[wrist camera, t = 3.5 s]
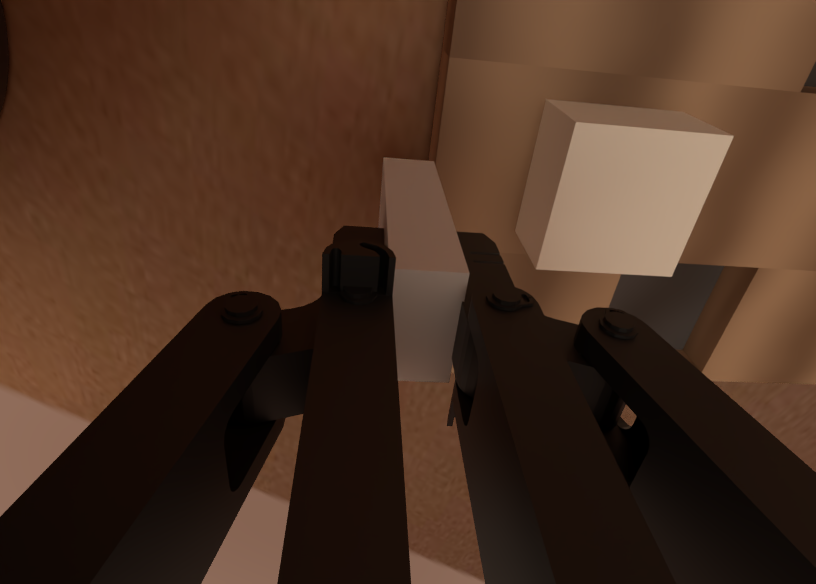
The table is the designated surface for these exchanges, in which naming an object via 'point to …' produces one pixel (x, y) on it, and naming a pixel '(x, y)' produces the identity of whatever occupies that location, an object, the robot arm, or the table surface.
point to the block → (616, 187)
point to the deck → (664, 90)
